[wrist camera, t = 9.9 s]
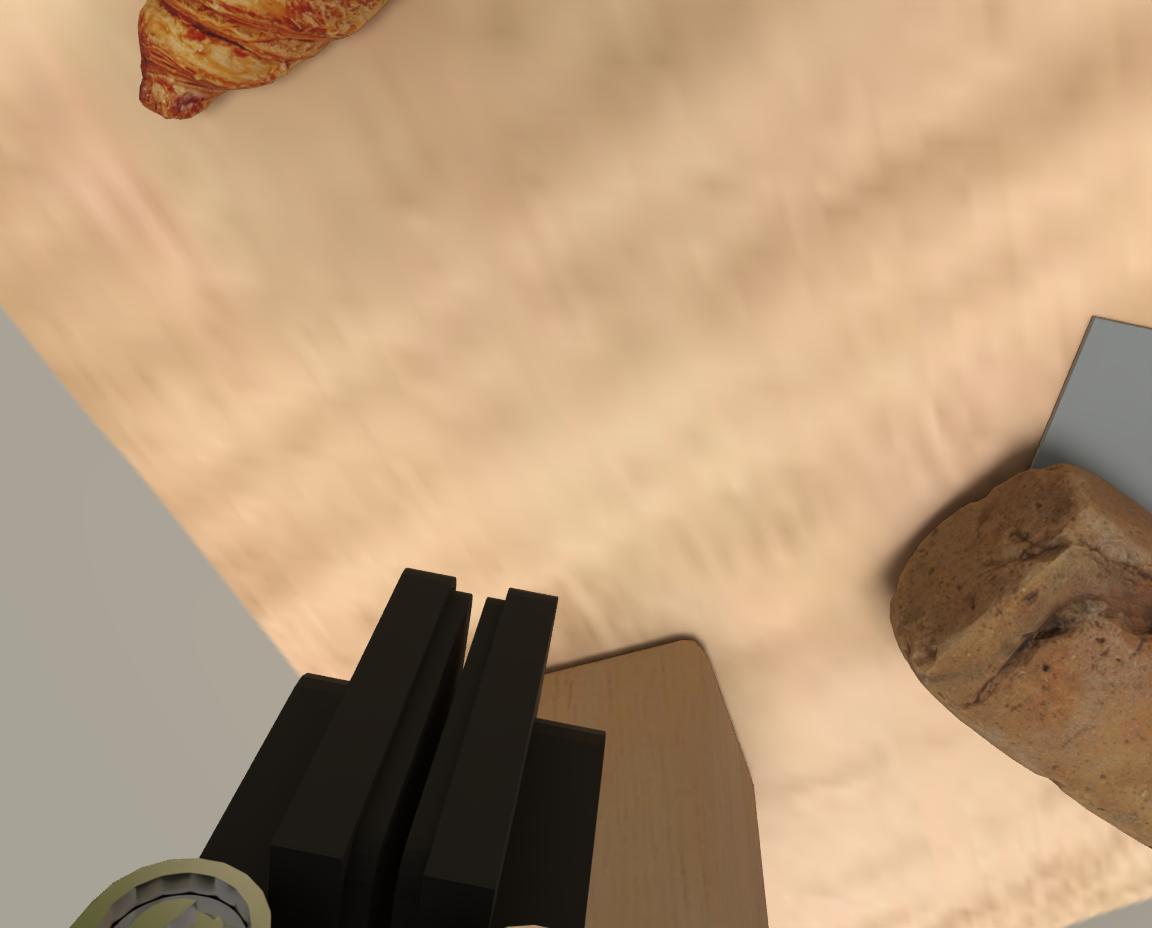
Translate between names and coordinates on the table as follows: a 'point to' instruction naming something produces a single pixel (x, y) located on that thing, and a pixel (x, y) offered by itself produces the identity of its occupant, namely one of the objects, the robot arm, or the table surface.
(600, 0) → the table surface
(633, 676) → the wooden block
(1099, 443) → the mat
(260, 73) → the croissant
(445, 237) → the table surface
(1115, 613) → the brown rounded lump
